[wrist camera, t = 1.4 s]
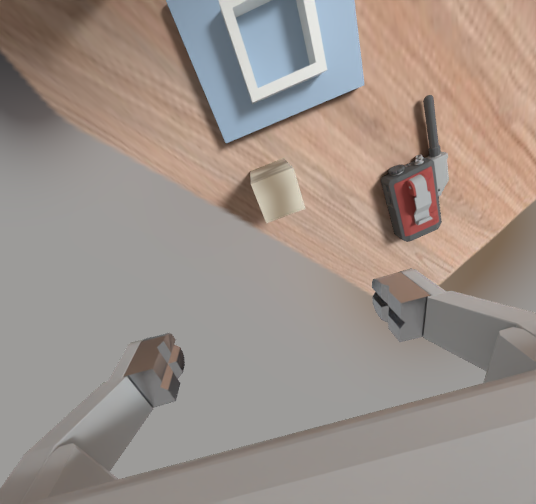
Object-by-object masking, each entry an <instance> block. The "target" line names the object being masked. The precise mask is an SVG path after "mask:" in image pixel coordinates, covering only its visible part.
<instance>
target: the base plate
mask: <svg viewBox="0 0 536 504" xmlns="http://www.w3.org/2000/svg"><path fill="white" fill-rule="evenodd" d="M166 2H167V4H168V7H169V9H170V11H171V14H172V16H173V18H174V21H175V23H176V26H177V28H178V30H179V33H180V35H181V38H182V40H183V42H184V45H185V47H186V50H187V52H188V54H189V57H190V59H191V61H192V64H193V66H194V69H195V71H196V73H197V76H198V78H199V81H200V83H201V85H202V88H203V90H204V93H205V95H206V97H207V100H208V102H209V104H210V107H211V109H212V112H213V114H214V116H215V119H216V121H217V124H218V126H219V128H220V131H221V133H222V136H223V138H224V140H225V143H228V142H231V141H233V140H236V139H238V138H240V137H243V136H245V135H247V134H250V133H252V132H254V131H257V130H259V129H262V128H264V127H266V126H269V125H271V124H273V123H276V122H278V121H280V120H283V119H285V118H288V117H290V116H292V115H295V114H297V113H299V112H302V111H304V110H307V109H309V108H311V107H314V106H316V105H318V104H321V103H323V102H325V101H328V100H330V99H333V98H335V97H337V96H340V95H342V94H344V93H347V92H349V91H352V90H354V89H356V88H359V87H361V86H363V85H364V77H363V69H362V61H361V52H360V44H359V36H358V27H357V19H356V11H355V2H354V0H166Z"/></svg>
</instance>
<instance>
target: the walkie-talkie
mask: <svg viewBox="0 0 536 504" xmlns="http://www.w3.org/2000/svg"><path fill="white" fill-rule="evenodd" d="M423 102H424V109H425V117H426V124H427V132H428V139H429V147H430V148H429V156H428V157H426V158H424V157H422V155H417V156H416V157H415V158H416V159H415V161H413V162H411V163H409V164H407V165H405V166H404V165H397V166H394V167H392V168H390V169H389V171H388V173H389V174H387V175H385V176H383V177H382V179H381V183H382V187H383V191H384V195H385V199H386V203H387V205H388V208H389V209H388V211H389V214H390V217H391V218H390V219H391V222H392V225H393V226H392V227H393V230H394V232H395V233H394V234H395V235H396V236H398V237H399V238H400V239H402V240H404V241H407V242H408V241H412V240H414V239H417V238H419V237H421V236H423V235H425V234H428V233H430V232H432V231H434V230H437V229H438V228H439V226H440V224H441V222H442V221H441V216H440V214H441V213H440V207H439V205H440V204H439V200H438V199H439V196H440V195H441V193H442V191H443V189H444V187H445V186H446V184H447V182H448V180H449V177H448V166H447V158H448V154H447V153H446V152H441V151H440V145H439V144H438V136H437V127H436V118H435V109H434V100H433V96H432V95H428V96H426V97H425V98H424V101H423Z"/></svg>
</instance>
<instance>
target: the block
mask: <svg viewBox="0 0 536 504" xmlns="http://www.w3.org/2000/svg"><path fill="white" fill-rule="evenodd" d="M250 178H251V186H252V189H253V191H254V194H255V196H256V199H257V201H258V204H259V206H260V209H261V211H262V214H263V216H264V219H265V221H266V223H268V222H271V221H274V220H276V219H279V218H282V217H284V216H287V215H290V214H292V213H295V212H298V211H300V210H303V209H305V206H304V202H303V199H302V195H301V192H300V189H299V185H298V182H297V178H296V175H295V172H294V168H293V167H292V166H291V165H290V164H289V163H288V162H287V161H286V160H285V159H284V158H282V159H280V160H278V161H275V162H273V163H270V164H268V165H265V166H263V167H260V168H258V169H255V170H253V171H250Z"/></svg>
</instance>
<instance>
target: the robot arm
mask: <svg viewBox="0 0 536 504" xmlns="http://www.w3.org/2000/svg"><path fill="white" fill-rule="evenodd" d="M372 288H373V289H374V290H375V291H376V292H375V294H374V295H373V305H374V308H375V311H376V313H377V314H378V316H379V317H380V318H381V320H383V321H385V322H388V323H389V330H390V331H391V332H392V333H393V334H394V336H395V337H396V338H397V339H398V341H399V342H402V341H406V340H410V339H415V338H419V337H423V338H425V339H426V340H428V341H430V342H432V343H434V344H436V345H438V346H440V347H442V348H443V349H445V350H447V351H449V352H451V353H453V354H455V355H457V356H458V357H460V358H462V359H464V360H466V361H468V362H470V363H472V364H474V365H475V366H477V367H479V368H481V369H483V370H485V371H487V373H486V376H485V379H484V383H483V384H479V385H475V386H471V387H467V388H464V389H460V390H456V391H452V392H448V393H445V394H441V395H437V396H433V397H429V398H425V399H422V400H418V401H414V402H410V403H407V404H403V405H399V406H395V407H391V408H387V409H384V410H380V411H376V412H372V413H368V414H365V415H361V416H357V417H353V418H349V419H346V420H342V421H338V422H334V423H331V424H327V425H323V426H319V427H315V428H312V429H308V430H304V431H300V432H296V433H292V434H289V435H285V436H281V437H277V438H274V439H270V440H266V441H262V442H258V443H255V444H251V445H247V446H243V447H239V448H236V449H232V450H228V451H224V452H221V453H217V454H213V455H209V456H206V457H202V458H198V459H194V460H190V461H186V462H183V463H179V464H175V465H171V466H167V467H163V468H160V469H156V470H152V471H148V472H144V473H141V474H137V475H133V476H129V477H125V478H122V479H118V478H116V477H115V476H114V475H113V474H111V473H110V470H111V469H112V468H113V466H114V464H115V463H116V462H117V460H118V459H119V457H120V456H121V455H122V453H123V452H124V450H125V449H126V447H127V446H128V445H129V443H130V442H131V440H132V439H133V437H134V436H135V434H136V433H137V432H138V430H139V429H140V427H141V426H142V424H143V423H144V421H145V420H146V418H147V417H148V416H149V414H150V413H151V412H152V410H153V408H154V407H157V406H160V405H164V404H168V403H171V402H174V401H176V398H177V394H178V390H179V386H180V382H179V380H178V378H179V377H180V375H181V374H182V373H183V370H184V366H185V364H184V363H185V362H184V355H183V351H182V350H181V348H180V347H178V346H176V345H174V343H175V338H174V336H173V335H172V334H170V333H167V334H163V335H159V336H155V337H150V338H146V339H143V340H139V341H135V342H132V343H130V344H129V345H128V346H127V348H126V350H125V351H124V353H123V355H122V357H121V358H120V360H119V362H118V364H117V366H116V367H115V369H114V371H113V373H112V374H111V376H110V378H109V380H108V381H107V382H103V383H102V384H101V385H100V386H99V387H98V388H97V389H96V390H95V391H93V392H92V393H91V394H90V395H89V396H88V397H87V398H86V399H85V400H84V401H82V402H81V403H80V404H79V405H78V406H77V407H76V408H75V409H74V410H72V411H71V412H70V413H69V414H68V415H67V416H66V417H65V418H64V419H63V420H61V421H60V422H59V423H58V424H57V425H56V426H55V427H54V428H53V429H52V430H50V431H49V432H48V433H47V434H46V435H45V436H44V437H43V438H42V439H40V440H39V441H38V442H37V443H36V444H35V445H34V446H33V447H32V448H31V449H29V451H27V452H26V453H25V454H24V455H23V457H22V458H21V460H20V461H19V462H18V464H17V465H16V467H15V468H14V470H13V471H12V472H11V474H10V475H9V477H8V478H7V480H6V481H5V483H4V484H3V485H2V487H1V488H0V504H536V313H534V312H530V311H527V310H522V309H519V308H515V307H511V306H507V305H504V304H499V303H496V302H492V301H488V300H484V299H480V298H477V297H473V296H469V295H465V294H461V293H458V292H454V291H448V292H446V291H445V290H443V289H442V288H441V287H439V286H438V285H436V284H435V283H434V282H432V281H431V280H429V279H428V278H426V277H425V276H424V275H422V274H421V273H419V272H418V271H417V270H415V269H412V268H411V269H407V270H404V271H400V272H398V273H394V274H390V275H387V276H383V277H379V278H376V279H373V281H372Z"/></svg>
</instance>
